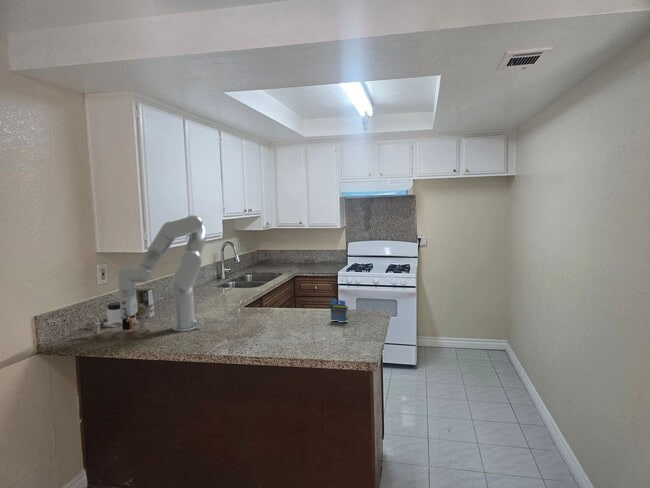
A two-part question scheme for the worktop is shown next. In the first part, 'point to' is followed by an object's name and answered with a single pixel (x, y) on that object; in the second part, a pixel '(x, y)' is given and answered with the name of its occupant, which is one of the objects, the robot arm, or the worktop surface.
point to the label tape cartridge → (339, 310)
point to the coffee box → (145, 303)
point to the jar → (114, 313)
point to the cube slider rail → (116, 333)
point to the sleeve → (131, 323)
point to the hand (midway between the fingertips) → (129, 327)
